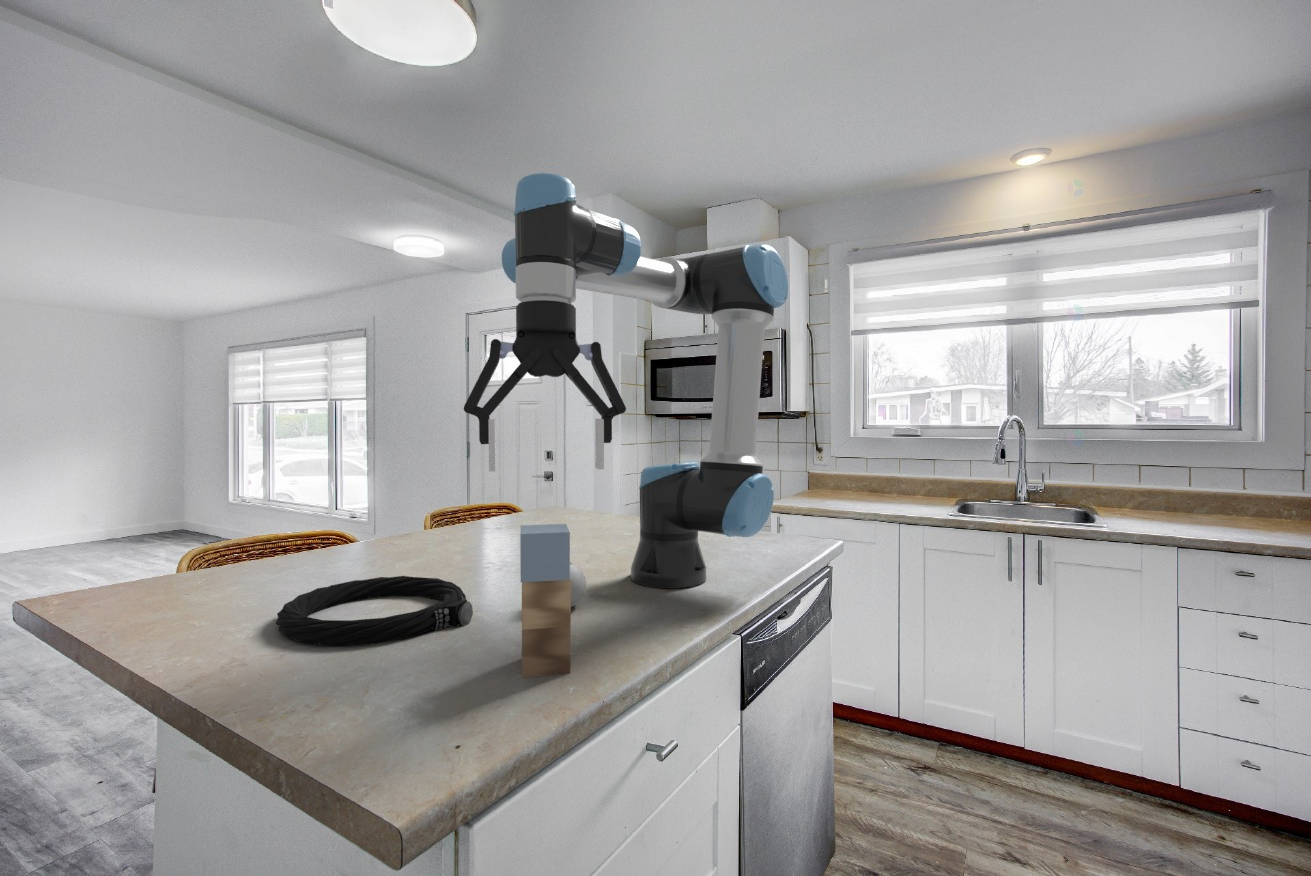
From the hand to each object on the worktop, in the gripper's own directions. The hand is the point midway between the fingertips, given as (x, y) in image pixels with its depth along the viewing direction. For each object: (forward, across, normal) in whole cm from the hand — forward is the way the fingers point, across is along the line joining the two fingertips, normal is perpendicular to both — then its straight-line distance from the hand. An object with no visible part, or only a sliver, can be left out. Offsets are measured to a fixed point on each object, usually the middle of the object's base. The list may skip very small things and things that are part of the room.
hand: (547, 469), depth 78 cm
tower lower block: (+26, 0, 0) cm, 26 cm away
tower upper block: (+20, 0, 0) cm, 20 cm away
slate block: (+14, 0, 0) cm, 14 cm away
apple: (+26, -4, -24) cm, 35 cm away
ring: (+26, +25, -24) cm, 44 cm away
